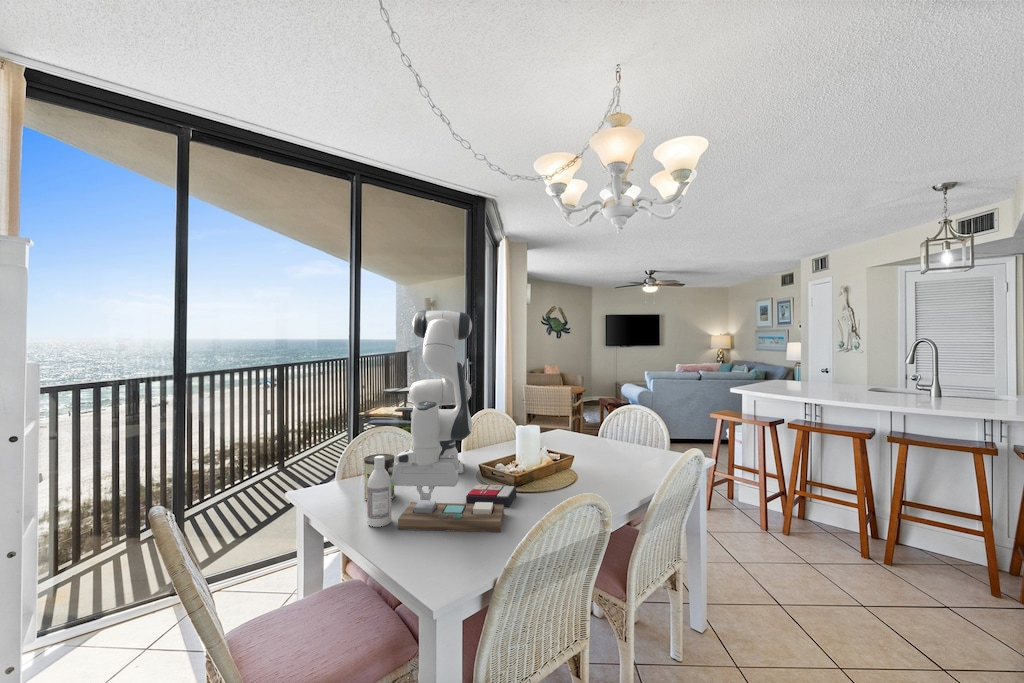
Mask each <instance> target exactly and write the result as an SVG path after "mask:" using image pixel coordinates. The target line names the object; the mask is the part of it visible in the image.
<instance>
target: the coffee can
mask: <svg viewBox="0 0 1024 683" xmlns="http://www.w3.org/2000/svg"><path fill="white" fill-rule="evenodd" d="M376 456H384V457H385V466H384V468H385V470H386V471H387V472H388V474H389V476H390V478H391V498H392V499H394V497H395V485H394V484H393V483H392V474H393V468H394V465H395V455H393V454H390V453H376V454H371V455H367V456H365V457H363V461H364V463H363V466H364V468H363V469H364V470H363V472H364V479H363V480H364V481H363V482H364V483H363V484H364V493H363V494H364V497H363V498H364V499H365V500H367V485H368V480H369V477H370V475H371V474H372V472H373V471H374V469H375V468H374V458H375V457H376ZM365 500H364V501H365Z"/></svg>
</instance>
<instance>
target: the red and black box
mask: <svg viewBox="0 0 1024 683" xmlns="http://www.w3.org/2000/svg"><path fill="white" fill-rule="evenodd" d="M516 498H517V487H516V486H513V485H511V486H510V485H501V484H500V485H499V484H498V485H497V484H490V485H489V484H476V485H475V486H474V487H473V488H472V489H471V490H470V491H469V492H468V493H467V494H466V495H465V501H466V502H465V504H466V503H467V504H475V502H491V503H493V504H502V505H504V509H505V508H508V509H509V508H510V507H511V506H512V504H513V502H514V501H515V499H516Z"/></svg>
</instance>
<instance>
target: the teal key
mask: <svg viewBox="0 0 1024 683" xmlns="http://www.w3.org/2000/svg"><path fill="white" fill-rule="evenodd" d="M464 510H465V506H456V505H447V507H446V508H445V510H444V512H443V514H463V512H464Z"/></svg>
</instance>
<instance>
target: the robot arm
mask: <svg viewBox="0 0 1024 683" xmlns="http://www.w3.org/2000/svg"><path fill="white" fill-rule="evenodd" d="M472 327H473V323H472V319H471V317H470V315H469V314H468V313H465V312H462V311H461V312H457V311H452V310H445V309H444V310H424V309H423V310H419V311H417V312H416V313H415V315H414V317H413V319H412V329H413V333H414V334H415V336H417V337H418V338H421V339H423V345H422V363H423V365H424V367H425V368H426V370H428V371H429V372H431V373H432V374H434V375H437V376H438V377H441V378H437V379H436V378H435V379H434V378H433V379H432V378H431V379H421V380H418V381H414V382H413V383H412V384H411V385H410V387H409V391H408V396H409V400H410V401H411V402H412V404H414V405H413V407H412V412H411V421H410V434H411V437H412V438H411V439H412V440H411V444H410V448H409V449H405V450H403V451H401V452H399V453H398V454H397V455H396V456H395V457H394V462H396V463H394V468H393V474H392V483H393V484H394V487H395V486H396V487H399V486H400V487H416V491H417V492H418V494H419V497H420V498H419V499H420V500H419V501H431V499H432V494H433V491H434V489H435V487H447V488H448V487H450V488H451V487H452V488H453V487H454V488H455V487H456V486H457V485H458V483H459V482H460V481H459V479H460V478H459V474H463V473H464V462H463V460H460V459H459V452H458V449H457V447H456V441H463V440H465V439H466V438H467V437H468V436H470V435H471V433H472V428H473V421H472V417H471V413H470V412H471V411H470V407H469V400H470V398H471V396H472V386H471V385H470V383H469V381H468V380H467V379H466V376H465V375H466V374H465V370H464V367H463V364H462V363H460V361H458V360H457V340H459V341H462V340H465V339H468V337H469V336H470V334H471V332H472V329H473V328H472ZM440 406H455V407H454V408H451V409H449V408H448V409H447V408H446V409H444V408H440ZM423 487H428V490H429V491H428V492H425V491H424V490H423Z"/></svg>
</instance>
